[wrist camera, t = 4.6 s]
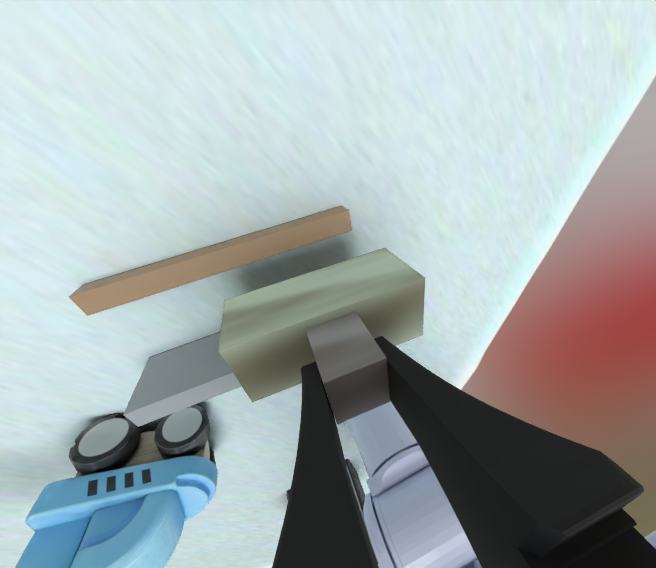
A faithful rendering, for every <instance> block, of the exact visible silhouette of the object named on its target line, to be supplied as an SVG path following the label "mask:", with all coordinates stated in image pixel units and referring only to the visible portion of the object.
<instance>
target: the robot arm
mask: <svg viewBox="0 0 656 568" xmlns="http://www.w3.org/2000/svg"><path fill="white" fill-rule="evenodd" d="M374 340H375V341H376V343H377V344H378V346H379V347H380V349H381V350H382V352H383V353H384V355H385V356H386V358H387V370H388V383H389V395H390V402H388V403H386V404H384V405H381V406H379V407H377V408H374V409H372V410H370V411H368V412H365V413H363V414H361V415H358V416H356V417H354V418H351V419H349V420H347V421H344V424H345V426H350V428H351V431H352V433H353V436H354V439H355V441H356V444H357V446H358V449H359V452H360V454H361V457H362V459H363V462H364V465H365V467H366V470H367V473H368V475H369V479H367V484H368V487H369V489H370V493H368V494H367V495H366V496H365V502H364V507H363V512H364V519H365V523H366V527H367V531H368V534H369V537H368V534H367V531H366V528H365V524H364V521H363V518H362V515H361V512H360V509H359V506H358V503H357V500H356V497H355V494H354V491H353V487H352V484H351V481H350V478H349V474H348V471H347V467H346V463H345V459H344V455H343V450H342V446H341V442H340V438H339V434H338V430H337V426H336V422H335V418H334V414H333V411H332V408H331V405H330V402H329V399H328V396H327V393H326V390H325V387H324V384H323V381H322V378H321V375H320V372H319V369H318V366H317V363H316V361H315V362H313V363H310V364H307V365H305V366H302V368H301V376H302V409H301V424H300V433H299V442H298V450H297V457H296V463H295V469H294V475H293V480H292V485H291V490H290V495H289V500H288V505H287V510H286V514H285V518H284V523H283V527H282V531H281V535H280V539H279V543H278V547H277V551H276V555H275V559H274V562H273V566H272V568H378V564H377V561H378V563H379V566H380V568H656V531H654V532H652V533H651V534H649V535H648V536H646V537H643V536H642V535H641V534H640V533H639V532H638V531H637V530H636V529H635V528H634V527H633V526H635V525H636V522H635V521H634V519H633V518H631V517H630V516H629V515H628V514H627V513H626V512H625V511H624V510H623V509H622V508H623V507H624V506H625V505H627V504H628V503H629V502H631V501H632V500H634V499H635V498H637V497H638V496H639V495H641V494H642V493H643V492H644V488H643V486H642V485H641V484H639V483H638V482H637V481H636V480H635V479H633V478H632V477H631V476H630V475H629V474H628V473H627V472H625V471H624V470H623V469H622V468H621V467H619V466H618V465H617V464H616V463H615V462H614V461H612V460H611V459H610V458H608V457H607V456H606V455H604V454H603V453H602V452H600V451H598V450H595V449H592V448H589V447H587V446H584V445H581V444H578V443H576V442H573V441H571V440H568V439H566V438H563V437H560V436H558V435H555V434H553V433H550V432H548V431H545V430H543V429H541V428H538V427H536V426H534V425H531V424H529V423H526V422H524V421H522V420H520V419H517V418H515V417H513V416H511V415H509V414H507V413H505V412H502V411H500V410H498V409H496V408H494V407H492V406H490V405H488V404H486V403H484V402H482V401H480V400H478V399H476V398H474V397H472V396H471V395H469V394H467V393H465V392H463V391H462V390H460V389H458V388H456V387H455V386H453V385H451V384H450V383H448V382H446V381H445V380H443V379H441V378H440V377H438V376H437V375H435V374H434V373H432V372H430V371H429V370H427V369H426V368H425V367H423V366H422V365H420V364H419V363H417V362H416V361H414V360H413V359H412V358H410V357H409V356H407V355H406V354H405V353H403V352H402V351H401V350H399V349H398V348H397V347H396V346H394V345H393V344H392V343H391V342H389V341H388V340H387V339H386V338H384V337H383V336H380V337H377V338H375V339H374ZM369 538H370V540H369ZM370 541H371V543H370ZM371 544H372V546H371ZM372 547H373V549H372ZM373 550H374V552H373ZM374 553H375V555H376V558H377V561H376V558H375V555H374Z"/></svg>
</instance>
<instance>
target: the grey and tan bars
mask: <svg viewBox="0 0 656 568" xmlns="http://www.w3.org/2000/svg"><path fill="white" fill-rule="evenodd" d="M351 230H352V227H351V221H350V215H349V210H348V209H346V208H344V207H343V206H339V207H336V208H333V209H329V210H326V211H323V212H320V213H316V214H313V215H310V216H307V217H303V218H300V219H297V220H294V221H290V222H287V223H284V224H280V225H277V226H274V227H271V228H267V229H264V230H261V231H258V232H254V233H251V234H248V235H244V236H241V237H238V238H235V239H231V240H228V241H225V242H222V243H218V244H215V245H212V246H209V247H205V248H202V249H199V250H195V251H192V252H189V253H186V254H182V255H179V256H176V257H173V258H169V259H166V260H163V261H159V262H156V263H153V264H150V265H146V266H143V267H140V268H137V269H133V270H130V271H127V272H123V273H120V274H117V275H114V276H110V277H107V278H104V279H101V280H97V281H94V282H91V283H88V284H84V285H82V286H81V287H80V288H79V289H77V290H76V291H75V292H74V293H73V294H72V295H70V296H69V297H70V299H71V300H72V301H73V302H74V303H75V304H76V305H77V306H78V307H79V308H80V309H81V310H82V311H83V312H84V313H85V314H86V315H87V316H88V315H91V314H95V313H98V312H101V311H104V310H107V309H110V308H113V307H116V306H119V305H122V304H125V303H129V302H132V301H135V300H138V299H141V298H144V297H147V296H150V295H153V294H156V293H160V292H163V291H166V290H169V289H172V288H175V287H178V286H181V285H184V284H187V283H190V282H194V281H197V280H200V279H203V278H206V277H209V276H212V275H215V274H218V273H221V272H224V271H228V270H231V269H234V268H237V267H240V266H243V265H246V264H249V263H252V262H255V261H258V260H262V259H265V258H268V257H271V256H274V255H277V254H280V253H283V252H286V251H289V250H292V249H296V248H299V247H302V246H305V245H308V244H311V243H314V242H317V241H320V240H323V239H326V238H330V237H333V236H336V235H339V234H342V233H345V232H348V231H351ZM220 335H221V332H219V333H216V334H213V335H211V336H208V337H205V338H202V339H199V340H197V341H194V342H191V343H188V344H185V345H183V346H180V347H177V348H174V349H171V350H169V351H166V352H163V353H160V354H158V355H155V356H152V357H149V360H148V362H147V364H146V366H145V368H144V370H143V373H142V375H141V377H140V379H139V381H138V384H137V386H136V388H135V390H134V392H133V395H132V397H131V399H130V401H129V403H128V406H127V408H126V410H125V412H124V414H123V415H124V416H125V417H127V418H128V419H129V420H130V421H132V422H133V423H134V424H135V425H137V426H138V427H139V426H142V425H144V424H147V423H149V422H152V421H154V420H157V419H159V418H162V417H165V416H167V415H170V414H172V413H175V412H177V411H180V410H182V409H185V408H187V407H190V406H192V405H195V404H197V403H200V402H203V401H205V400H208V399H210V398H213V397H215V396H218V395H220V394H223V393H225V392H228V391H230V390H233V389H235V388H238V387H240V386H241V384H240V383H239V381H238V380H237V378H236V377H235V375H234V374H233V372H232V371H231V369H230V368H229V366H228V365H227V363H226V362H225V360H224V359H223V357H222V356H221V354H220V353H219V344H220Z"/></svg>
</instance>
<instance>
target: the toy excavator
mask: <svg viewBox="0 0 656 568" xmlns="http://www.w3.org/2000/svg"><path fill="white" fill-rule="evenodd" d="M119 414H120V413H117V414H113V415H109V416H107V417H104V418H101V419H99V420H98V421H96V422H95V423H92V424H91V425H89V426H88V427H87V428H86V429H85V430H84V431H83V432H81V434H80V435H79V436H78V437H77V438H76V440H75V443H76V444H75V446H74V447H72V448H71V449H70V453H69V458H70V460H71V462H72V463H73V465H74V466H75V468H76V470H77V471H78V473H77V474H76V477H75V478H70V479H65V480H60V481H56V482H53V483H50V484H48V485H47V486H45V488H44V489H43V491H42V492H41V494H40V496H39V497H38V499H37V501H36V502H35V504H34V506H33V507H32V509H31V511H30V513H29V514H28V516H27V518H26V521H25V522H26V524H27V525H28V526H29V527H30V528H32V529H33V530H34V531H35V534H34V535H33V537H32V538H31V540H30V542H29V544H28V545H27V547H26V549H25V550H24V552H23V554H22V556H21V558H20V560H19V562H18V563H17V565H16V567H15V568H164V566H165V565H166V563H167V562H168V560H169V559H170V557H171V555H172V553H173V551H174V550H175V547H176V545H177V543H178V541H179V538H180V536H181V533H182V529H183V525H184V521H186V520H188V519H189V518H191V517H193V516H195V515H197V514H198V513H199V512H201V511H202V510H203V509H204V507H205V506H206V505H207V504H208V503H209V502H210V501H211V499H212V498H213V497H214V495H215V492H216V485H217V468H216V462H215V458H214V452H213V449H212V447H211V446H209V443H208V437H209V431H210V427H209V421H208V416H207V413H206V411H205V410H204V408H203V407H201V406H198V405H196V404H195V405H192V406H190V407H187V408H185V409H182V410H180V411H177V412H175V413H172V414H170V415H167V416H165V417H163V418H162V420H161V421H160V422H159V424H158V425H157V428H156V429H155V431H150V432H143V433H140V431H139V428H138V426H137V425H135V424H134V423H133V422H132V421H130V420H129V419H128V418H127V417H126V418H124V419H123V418H117V417H115V416H117V415H119Z"/></svg>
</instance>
